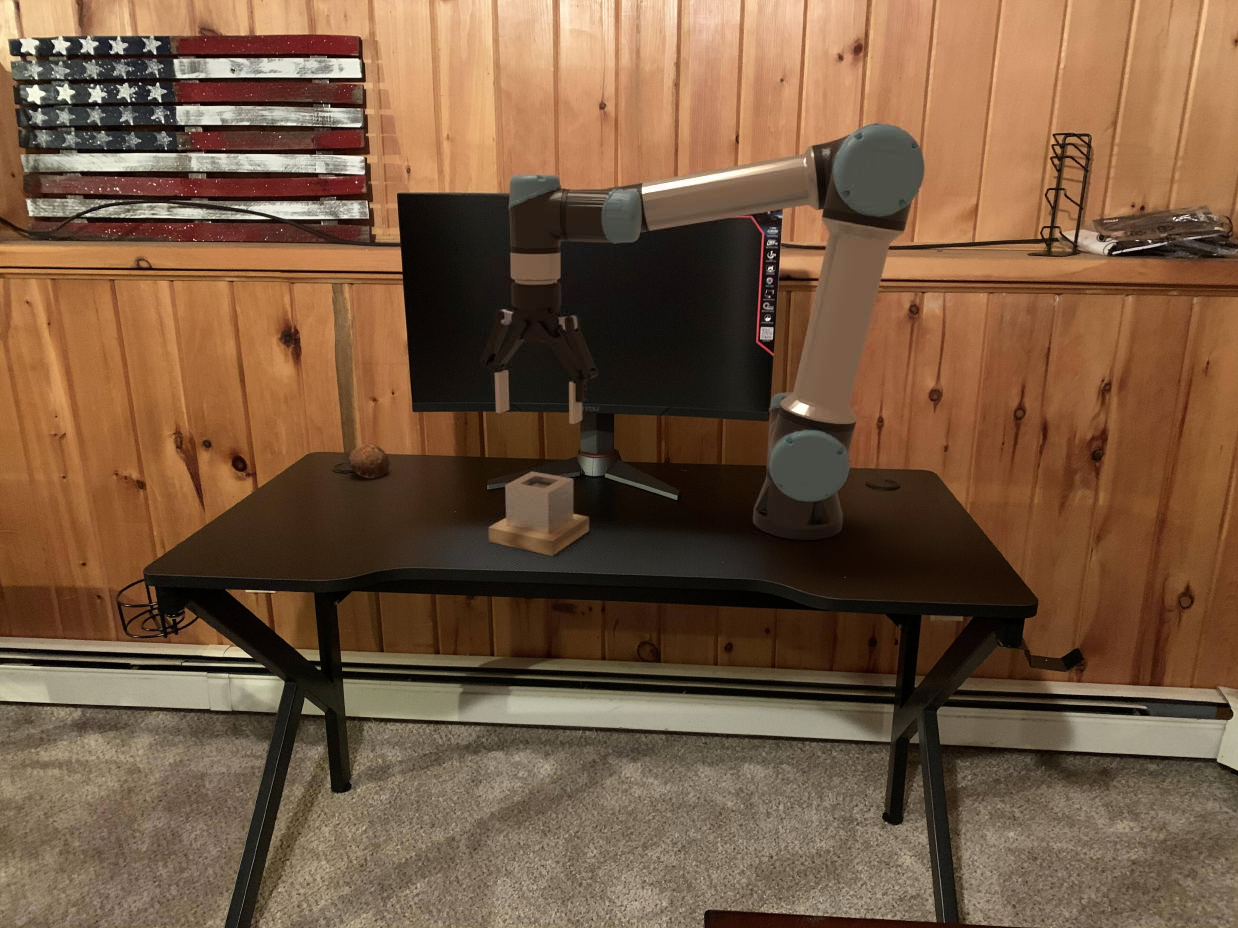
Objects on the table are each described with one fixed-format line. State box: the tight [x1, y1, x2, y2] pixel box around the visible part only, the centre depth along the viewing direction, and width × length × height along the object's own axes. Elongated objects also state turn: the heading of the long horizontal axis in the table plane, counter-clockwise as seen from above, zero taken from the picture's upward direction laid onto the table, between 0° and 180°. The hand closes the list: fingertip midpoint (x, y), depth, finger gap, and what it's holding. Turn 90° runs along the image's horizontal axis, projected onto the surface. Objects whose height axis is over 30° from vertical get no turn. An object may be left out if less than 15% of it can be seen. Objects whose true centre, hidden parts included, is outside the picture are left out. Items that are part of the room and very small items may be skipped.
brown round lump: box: [348, 443, 390, 479], centre depth 181 cm, size 8×8×6 cm
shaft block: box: [488, 483, 590, 557], centre depth 151 cm, size 12×12×8 cm
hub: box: [504, 471, 574, 535], centre depth 151 cm, size 8×8×7 cm
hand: (538, 416), depth 146 cm, fingers open, 13 cm apart
